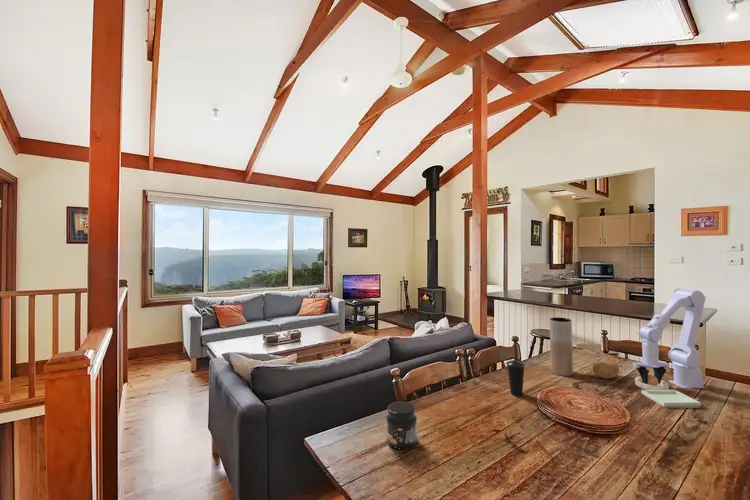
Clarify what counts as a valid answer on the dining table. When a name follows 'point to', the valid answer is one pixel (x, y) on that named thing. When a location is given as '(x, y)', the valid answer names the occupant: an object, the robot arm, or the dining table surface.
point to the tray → (671, 399)
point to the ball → (652, 380)
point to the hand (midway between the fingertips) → (651, 383)
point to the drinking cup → (516, 376)
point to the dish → (660, 386)
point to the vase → (561, 346)
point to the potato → (606, 369)
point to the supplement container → (401, 425)
